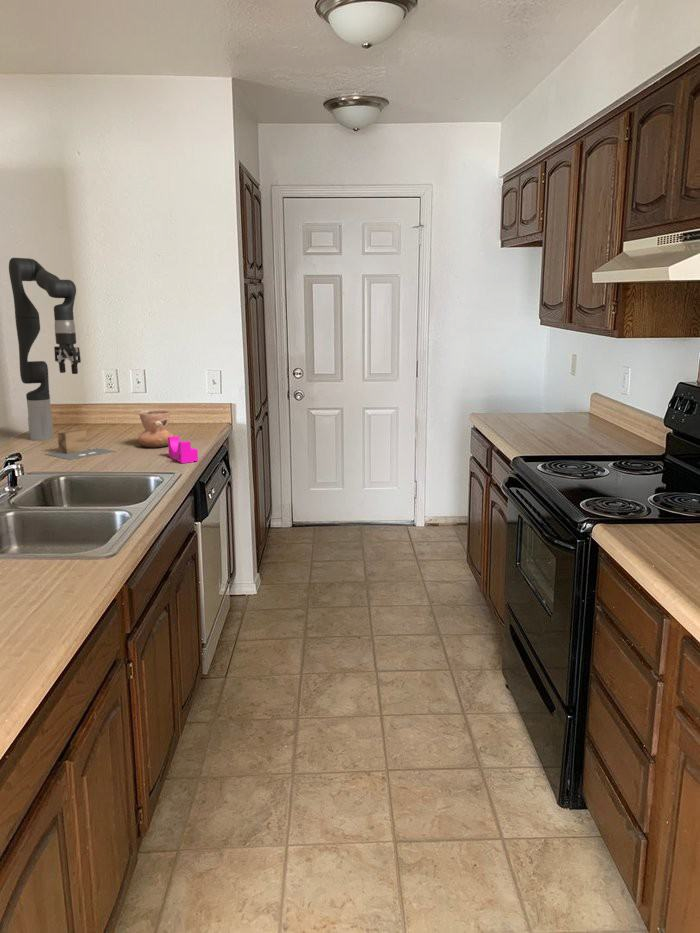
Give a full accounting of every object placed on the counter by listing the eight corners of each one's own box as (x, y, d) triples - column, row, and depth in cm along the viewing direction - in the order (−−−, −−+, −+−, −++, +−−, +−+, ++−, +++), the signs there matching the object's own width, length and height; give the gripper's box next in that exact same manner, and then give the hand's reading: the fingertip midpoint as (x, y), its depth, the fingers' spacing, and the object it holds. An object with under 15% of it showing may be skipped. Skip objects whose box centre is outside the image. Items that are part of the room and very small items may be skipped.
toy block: (198, 461, 274) (197, 441, 272) (181, 463, 271) (180, 443, 269) (184, 454, 286) (183, 435, 285) (169, 456, 283) (167, 437, 282)
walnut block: (59, 452, 291) (57, 432, 289) (79, 448, 298) (77, 429, 296) (67, 453, 287) (65, 433, 286) (87, 450, 294) (85, 430, 293)
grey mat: (44, 454, 287) (44, 454, 287) (90, 446, 302) (90, 446, 302) (69, 459, 277) (69, 459, 277) (115, 451, 292) (115, 451, 292)
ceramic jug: (178, 448, 298) (176, 413, 295) (141, 451, 293) (139, 415, 290) (170, 441, 314) (168, 407, 311) (135, 443, 309) (133, 409, 306)
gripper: (46, 331, 292) (50, 373, 295) (66, 332, 283) (70, 375, 287) (63, 331, 298) (67, 371, 301) (84, 331, 289) (87, 373, 293)
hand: (68, 373), depth 294 cm, fingers open, 8 cm apart
